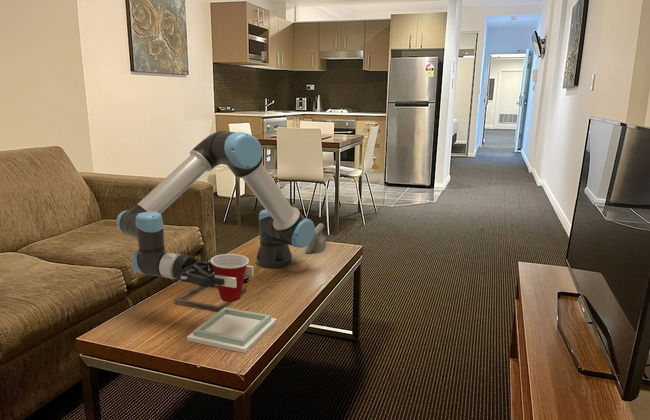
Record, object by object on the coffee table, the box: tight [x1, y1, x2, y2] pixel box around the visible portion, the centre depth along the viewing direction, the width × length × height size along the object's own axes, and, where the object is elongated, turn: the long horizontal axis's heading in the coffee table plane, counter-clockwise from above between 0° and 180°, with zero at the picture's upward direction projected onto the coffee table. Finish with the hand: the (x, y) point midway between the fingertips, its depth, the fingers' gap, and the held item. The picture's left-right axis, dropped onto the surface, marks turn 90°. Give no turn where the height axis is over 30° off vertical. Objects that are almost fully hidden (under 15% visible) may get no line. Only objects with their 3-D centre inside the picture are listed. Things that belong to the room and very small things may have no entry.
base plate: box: [186, 306, 278, 354], centre depth 136 cm, size 19×19×3 cm
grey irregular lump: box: [304, 222, 327, 254], centre depth 210 cm, size 16×9×11 cm, turn 156°
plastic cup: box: [210, 253, 250, 303], centre depth 132 cm, size 11×11×12 cm
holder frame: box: [174, 282, 247, 313], centre depth 159 cm, size 17×17×2 cm
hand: (244, 276), depth 130 cm, fingers closed on plastic cup, 9 cm apart
